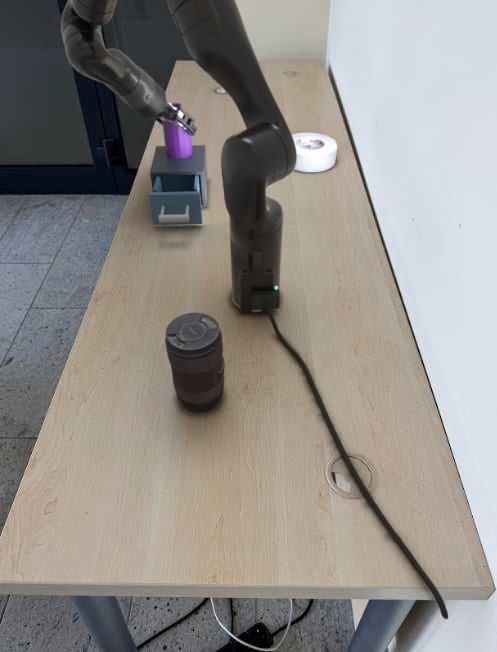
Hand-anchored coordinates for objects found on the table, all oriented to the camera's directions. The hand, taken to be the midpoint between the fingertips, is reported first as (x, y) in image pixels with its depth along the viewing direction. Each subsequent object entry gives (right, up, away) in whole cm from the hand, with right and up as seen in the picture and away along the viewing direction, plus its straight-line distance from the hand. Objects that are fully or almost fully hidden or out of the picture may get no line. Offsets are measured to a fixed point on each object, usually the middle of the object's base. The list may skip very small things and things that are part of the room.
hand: (180, 128), depth 118 cm
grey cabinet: (-1, -14, +8) cm, 16 cm away
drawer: (0, -22, -2) cm, 22 cm away
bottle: (-1, -5, +3) cm, 6 cm away
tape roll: (+34, -1, +22) cm, 40 cm away
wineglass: (+7, +40, +63) cm, 75 cm away
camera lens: (+9, -60, -39) cm, 72 cm away
